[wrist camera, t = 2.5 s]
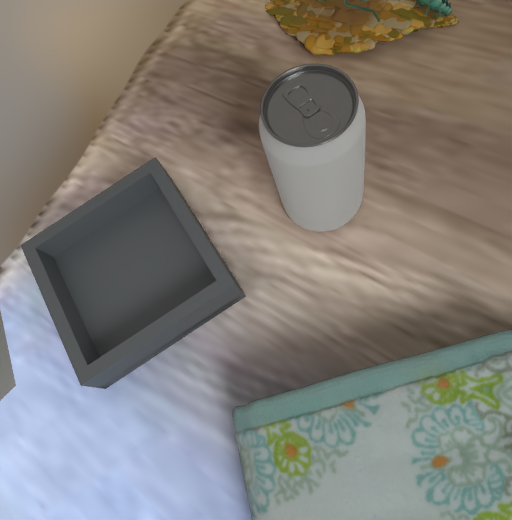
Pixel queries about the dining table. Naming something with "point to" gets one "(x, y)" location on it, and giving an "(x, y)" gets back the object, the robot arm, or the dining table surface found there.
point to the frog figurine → (356, 21)
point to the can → (315, 144)
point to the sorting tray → (128, 275)
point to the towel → (387, 440)
